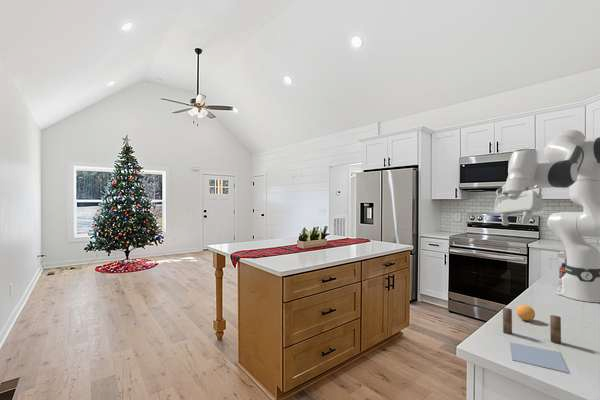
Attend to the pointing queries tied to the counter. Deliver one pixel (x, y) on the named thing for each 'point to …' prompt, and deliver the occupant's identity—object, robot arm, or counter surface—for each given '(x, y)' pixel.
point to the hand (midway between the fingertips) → (513, 224)
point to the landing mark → (538, 357)
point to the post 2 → (555, 329)
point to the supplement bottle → (562, 270)
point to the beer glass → (561, 258)
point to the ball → (525, 312)
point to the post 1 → (507, 321)
